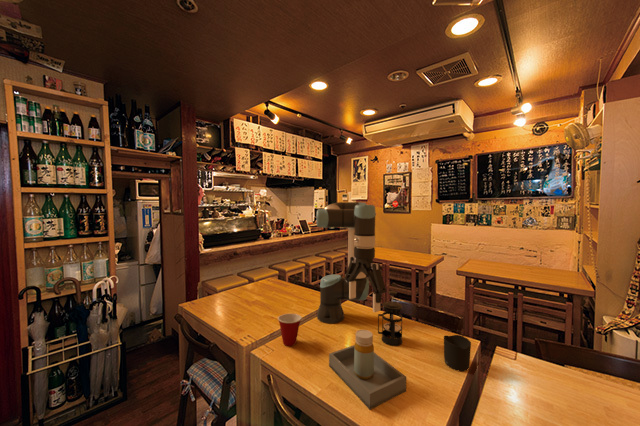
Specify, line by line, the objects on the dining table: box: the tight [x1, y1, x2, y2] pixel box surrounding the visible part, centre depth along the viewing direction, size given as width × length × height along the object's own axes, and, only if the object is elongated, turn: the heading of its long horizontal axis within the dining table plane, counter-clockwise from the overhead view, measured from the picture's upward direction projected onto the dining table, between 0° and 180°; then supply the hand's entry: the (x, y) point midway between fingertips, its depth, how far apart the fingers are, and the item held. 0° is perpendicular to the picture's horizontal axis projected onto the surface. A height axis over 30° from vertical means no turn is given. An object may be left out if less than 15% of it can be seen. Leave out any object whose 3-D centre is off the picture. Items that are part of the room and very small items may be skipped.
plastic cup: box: [277, 313, 302, 347], centre depth 115 cm, size 11×11×12 cm
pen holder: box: [443, 334, 472, 372], centre depth 99 cm, size 9×9×10 cm
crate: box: [328, 344, 407, 410], centre depth 92 cm, size 16×24×5 cm, turn 29°
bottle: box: [354, 329, 375, 379], centre depth 92 cm, size 7×7×15 cm
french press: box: [377, 290, 404, 347], centre depth 117 cm, size 12×9×23 cm
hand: (363, 304), depth 92 cm, fingers open, 13 cm apart
